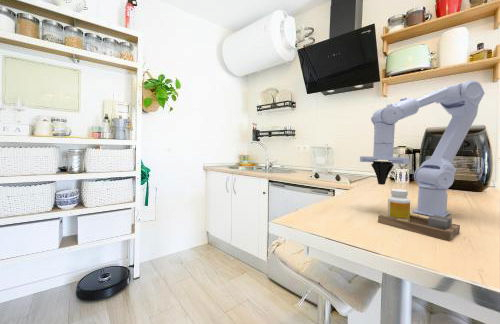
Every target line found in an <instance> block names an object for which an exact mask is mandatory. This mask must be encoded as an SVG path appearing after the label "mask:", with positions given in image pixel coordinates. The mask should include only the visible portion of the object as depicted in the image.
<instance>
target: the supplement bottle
mask: <svg viewBox="0 0 500 324" xmlns="http://www.w3.org/2000/svg"><path fill="white" fill-rule="evenodd" d="M408 191H409V190H407V189H400V188H399V189H397V188H392V189H391V191H390V194H391V196H389V197H388V200H387V217H392V218H396V219H403V220H407V221H409V222H410V214H411V200H410V198H408V197H407V196H408Z"/></svg>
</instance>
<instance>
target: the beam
mask: <svg viewBox="0 0 500 324" xmlns="http://www.w3.org/2000/svg"><path fill="white" fill-rule="evenodd" d="M452 221H453V218H452V217H449V216H445V217H444V216H439V215H433V216H429V217H428V218H427V217H423V216H420V215H417V214H413V213H410V222H409V221H407V220H403V219H396V218H392V217H388V215H384V214H378V216H377V223H379V224H383V225H387V226H390V227H393V228H394V227H395V228H397V229H403V230H406V231H409V232H410V231H411V232H413V233H417V234H422V235H425V236H428V237H432V238H437V239H440V240H444V241H448V242H450V241H452V240H453V239H454V238H455V237H456V236H458V234H460V229H461V225H460V224H455V223H453V222H452Z"/></svg>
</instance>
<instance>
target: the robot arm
mask: <svg viewBox="0 0 500 324" xmlns="http://www.w3.org/2000/svg"><path fill="white" fill-rule="evenodd" d="M484 95H485V90H484V89H483V86H482V84H481V83H480V82H478V81H477V80H475V79H473V80H471V79H470V80H468V81H466V82H460V83H457V84H454V85H449V86H445V87H442V88H440V89H436V90H434V91H431V92H429V93H426V94H425V95H421V96H419V97H417V98H413V97H406V96H405V97H403V98H400V99H399V101H397V102H395V103H389V104H386V106H385V107H383V108H379V109H376V110H375V111H374V112H373V114H372V116H371V117H370V120H371V123H372V124H373V127H374V128H373V129H374V131H373V151H372V152H373V153H372V154H373V156H368V155H367V156H365V155H364V156H363V155H362V156H359V162H361V163H363V162H364V163H370V164H371V167H372V168H373V170H374V173H375V176H376V178H377V179H376V180H377V184H378V185H383V186H384V185H386V182H387V178H388V176H389V175H390V172H391V171H392V169H393V167H394V166H395V164H397V165H398V164H399V165H409V164H410V157H397V156H396V157H395V156H394V148H395V147H394V146H395V130H396V129H395V128H396V126H395V125H396V124H397V123H398V122H399V121H400V120H403V119H405V118H408V117H411V116H413V115H416V114H417V113H418V112H419V110H420V109H421V108H423V107H425V106H426V107H427V106H429V105H431V104H433V103H436V104H440V106H441V107H442V108H443V109H444V110H445V112H447V113H448V115H451V119H450V121H449V122H448V125H447V126H446V128H445V131H444V132H443V134H442V136H441V138H440V140H439V142H438V144H437V146H436V147H435V149H434V152H433V153H432V155H431V157H430V158H428V159H426V160H425V161H423V162H422V163H421V165H420V166H419V167H418V168H416V169H415V170H414V173H413V179H414V181H415V182H416V183H417V186H418V194H417V208H416V209H414V210H412V213H415V214H420V215H426V216H429V217H431V216H433V215H439V216H444V217H448V215H450V214H451V212H450V211H447V209H448V208H447V207H448V193H447V190H449V188H450V187H451V186H453V183H454V182H455V174H456V172H457V169H456V167H455V166H454V165H453V164H452V163H453V161H454V159H455V157H456V155H457V153H458V151H459V150H460V148H461V146H462V144H463V143H464V140H465V138H466V137H467V134H468V133H469V131H470V129H471V127H472V125H473V124H474V121H475V119H476V118H477V116H478V111H479V105H480V103H481V101H482V99H483V97H484Z"/></svg>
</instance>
